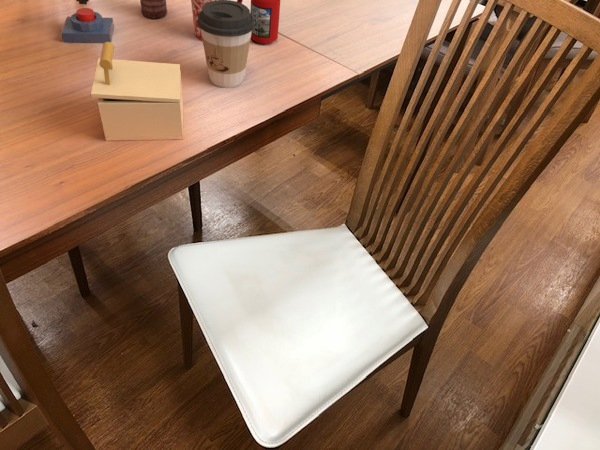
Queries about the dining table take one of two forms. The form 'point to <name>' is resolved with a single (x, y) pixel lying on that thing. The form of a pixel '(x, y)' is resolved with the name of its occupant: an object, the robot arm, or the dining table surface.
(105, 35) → the button box
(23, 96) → the dining table surface
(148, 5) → the can
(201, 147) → the dining table surface
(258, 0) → the beverage can
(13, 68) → the dining table surface
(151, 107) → the chest
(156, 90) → the lid
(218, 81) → the coffee cup
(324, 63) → the dining table surface
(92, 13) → the button
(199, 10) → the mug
